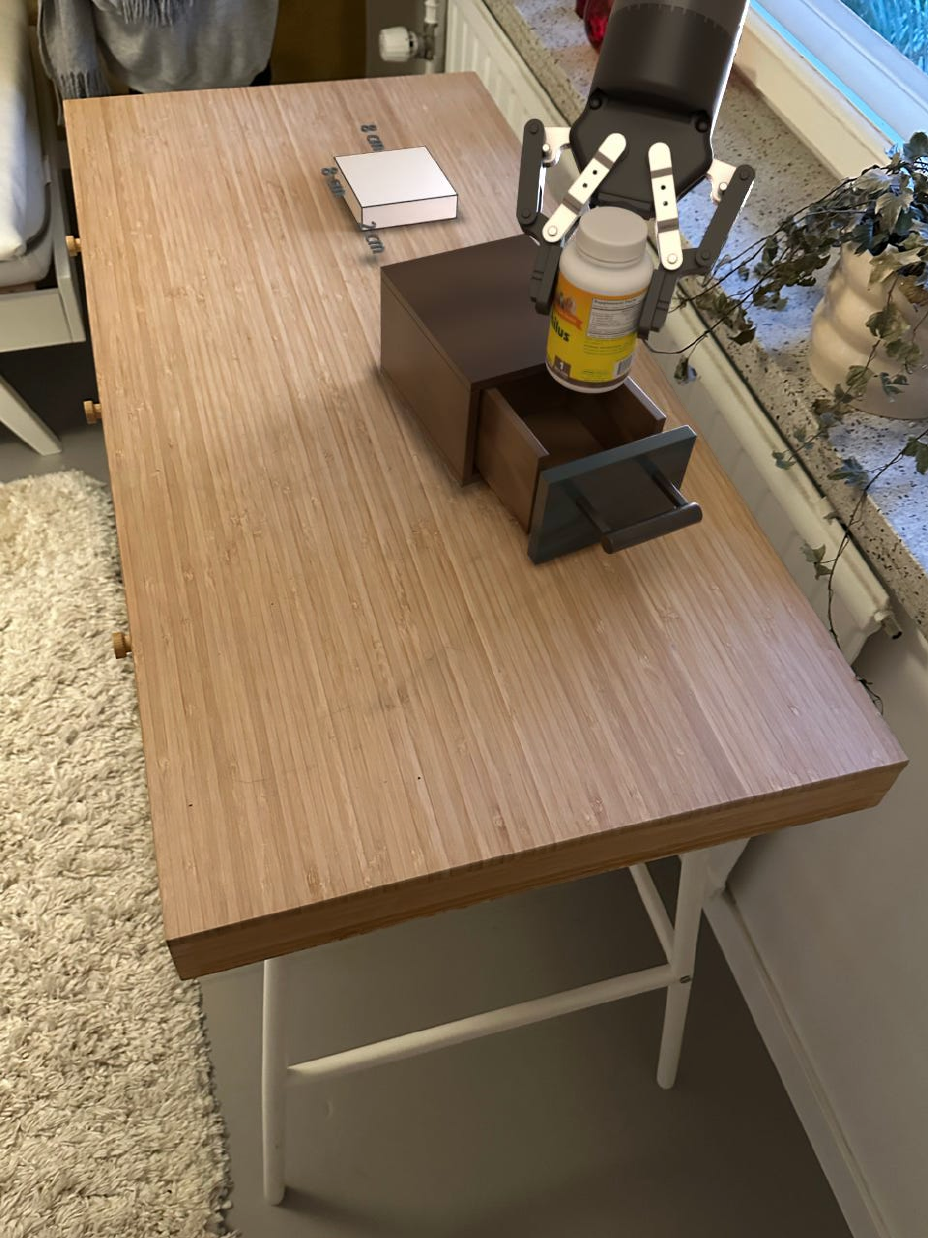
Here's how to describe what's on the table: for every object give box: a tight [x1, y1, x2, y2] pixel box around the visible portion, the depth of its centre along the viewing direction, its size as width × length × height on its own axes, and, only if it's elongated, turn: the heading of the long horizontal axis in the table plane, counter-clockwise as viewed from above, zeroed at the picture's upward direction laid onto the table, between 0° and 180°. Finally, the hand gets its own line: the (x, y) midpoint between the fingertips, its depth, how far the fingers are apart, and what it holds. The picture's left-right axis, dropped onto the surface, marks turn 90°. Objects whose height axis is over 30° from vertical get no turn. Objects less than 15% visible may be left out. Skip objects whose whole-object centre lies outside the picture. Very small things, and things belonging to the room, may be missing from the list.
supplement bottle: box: [546, 207, 655, 393], centre depth 62 cm, size 6×6×10 cm
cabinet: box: [379, 233, 554, 488], centre depth 77 cm, size 15×13×10 cm
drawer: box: [473, 370, 704, 566], centre depth 71 cm, size 18×11×8 cm, turn 27°
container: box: [321, 123, 459, 255], centre depth 98 cm, size 20×11×3 cm, turn 20°
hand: (592, 323), depth 61 cm, fingers closed on supplement bottle, 5 cm apart
